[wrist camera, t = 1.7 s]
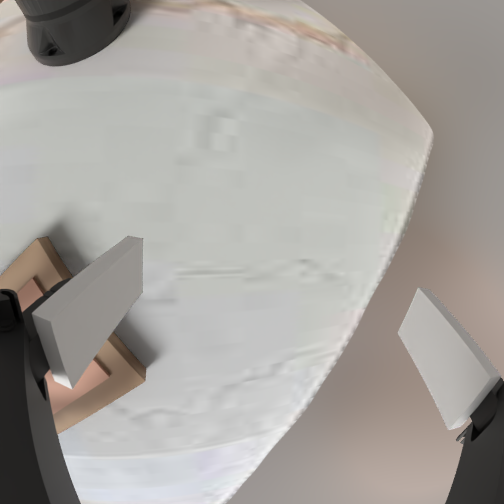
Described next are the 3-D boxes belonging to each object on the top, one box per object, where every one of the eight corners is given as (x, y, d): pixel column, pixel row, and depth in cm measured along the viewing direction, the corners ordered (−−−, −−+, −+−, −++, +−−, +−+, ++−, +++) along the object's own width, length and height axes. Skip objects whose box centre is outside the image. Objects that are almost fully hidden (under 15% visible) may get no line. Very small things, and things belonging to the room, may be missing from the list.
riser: (-30, 320, 23) (-42, 328, 19) (47, 236, 26) (35, 238, 23) (56, 425, 28) (50, 439, 24) (146, 368, 31) (145, 383, 28)
